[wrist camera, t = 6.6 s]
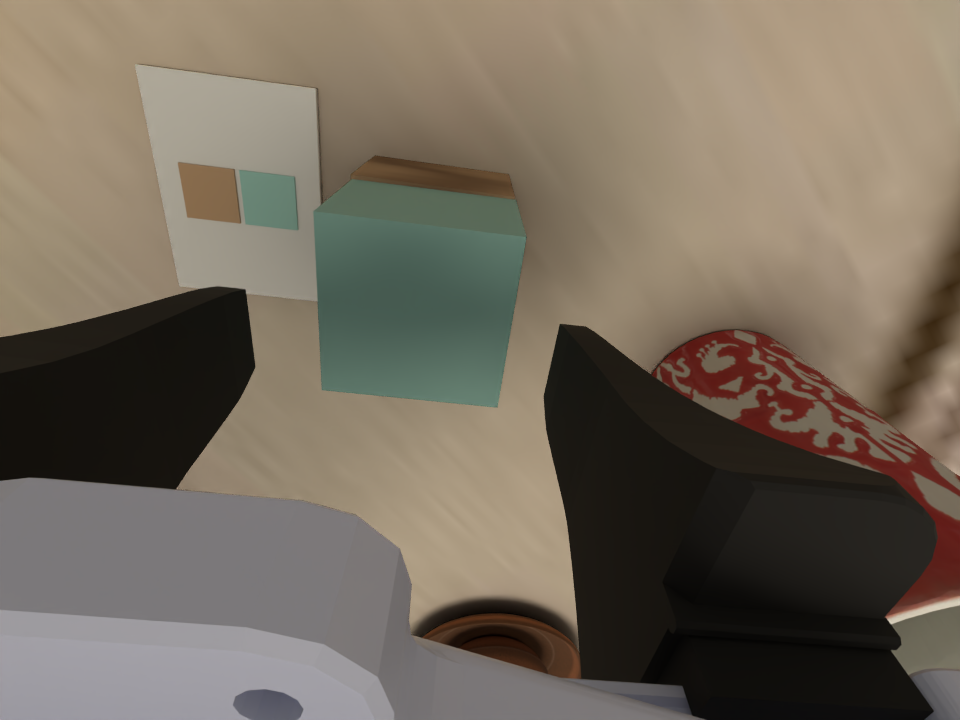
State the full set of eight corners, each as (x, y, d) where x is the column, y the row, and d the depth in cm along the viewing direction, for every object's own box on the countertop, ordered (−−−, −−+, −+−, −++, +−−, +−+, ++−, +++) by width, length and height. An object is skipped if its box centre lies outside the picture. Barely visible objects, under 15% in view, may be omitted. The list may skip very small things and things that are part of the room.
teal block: (353, 326, 17) (321, 390, 14) (351, 179, 15) (313, 211, 11) (493, 342, 18) (497, 407, 14) (515, 199, 15) (526, 237, 12)
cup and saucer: (422, 696, 38) (413, 798, 32) (392, 600, 32) (374, 706, 26) (579, 687, 37) (595, 790, 32) (579, 588, 31) (599, 694, 26)
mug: (637, 305, 21) (829, 590, 9) (847, 309, 21) (1295, 597, 10) (596, 513, 27) (681, 837, 16) (758, 515, 28) (960, 840, 16)
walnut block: (372, 281, 21) (350, 323, 17) (375, 155, 18) (350, 174, 15) (490, 295, 21) (491, 339, 18) (508, 173, 19) (515, 197, 15)
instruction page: (181, 284, 21) (178, 287, 20) (138, 64, 17) (133, 64, 16) (325, 300, 21) (323, 303, 21) (317, 88, 17) (314, 88, 17)
